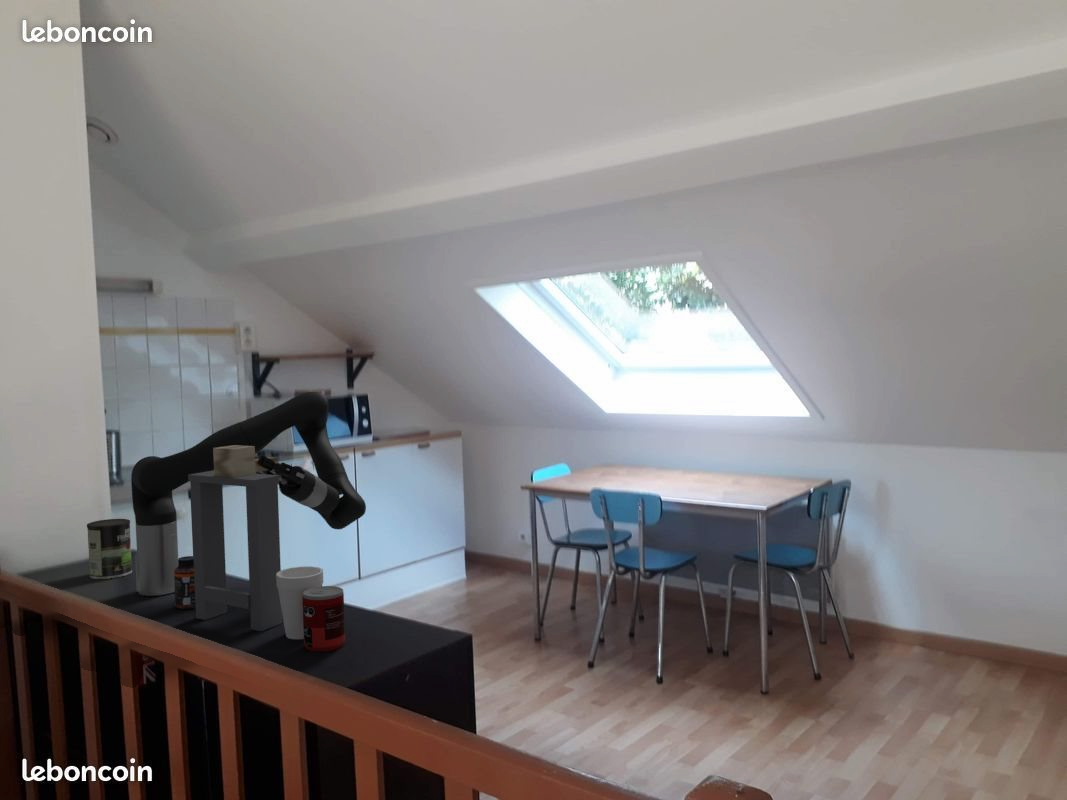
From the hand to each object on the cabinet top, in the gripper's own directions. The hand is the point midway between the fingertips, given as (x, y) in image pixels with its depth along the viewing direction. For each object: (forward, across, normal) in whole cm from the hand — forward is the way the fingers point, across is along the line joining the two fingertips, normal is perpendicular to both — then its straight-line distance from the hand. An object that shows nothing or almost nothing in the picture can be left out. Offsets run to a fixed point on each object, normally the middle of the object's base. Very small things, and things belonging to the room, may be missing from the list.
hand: (254, 459), depth 186 cm
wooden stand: (-12, 0, +33) cm, 35 cm away
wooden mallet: (0, 0, +3) cm, 3 cm away
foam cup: (-12, +19, +34) cm, 40 cm away
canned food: (-9, +28, +35) cm, 46 cm away
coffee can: (-23, -62, +27) cm, 71 cm away
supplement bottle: (-14, -19, +32) cm, 40 cm away
